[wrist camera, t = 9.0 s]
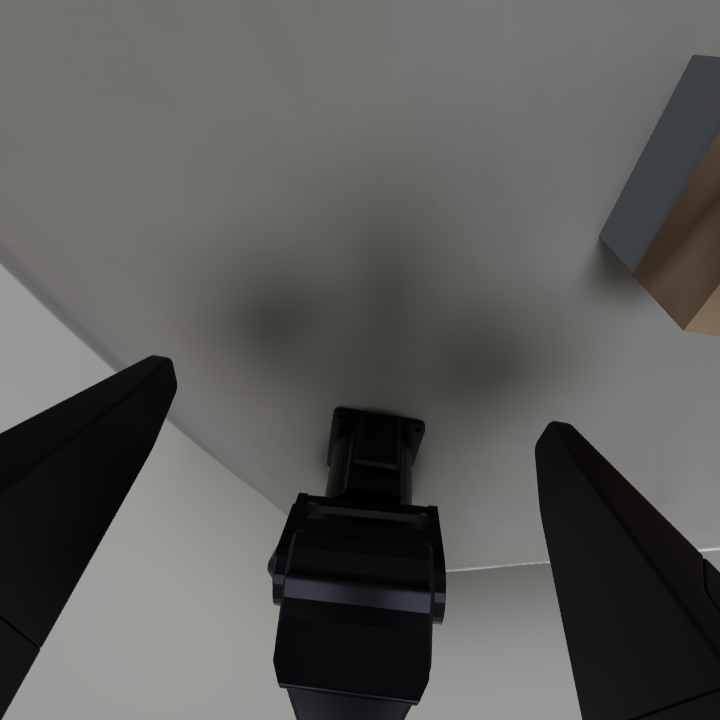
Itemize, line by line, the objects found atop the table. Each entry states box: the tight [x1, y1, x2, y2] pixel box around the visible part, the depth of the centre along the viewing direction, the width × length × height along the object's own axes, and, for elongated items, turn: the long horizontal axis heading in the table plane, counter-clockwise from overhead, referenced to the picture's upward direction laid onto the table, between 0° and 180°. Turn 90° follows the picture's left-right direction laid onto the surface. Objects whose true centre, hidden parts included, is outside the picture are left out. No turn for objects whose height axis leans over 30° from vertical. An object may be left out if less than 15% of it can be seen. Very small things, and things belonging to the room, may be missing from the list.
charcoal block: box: [599, 55, 720, 273], centre depth 16 cm, size 7×4×4 cm, turn 173°
